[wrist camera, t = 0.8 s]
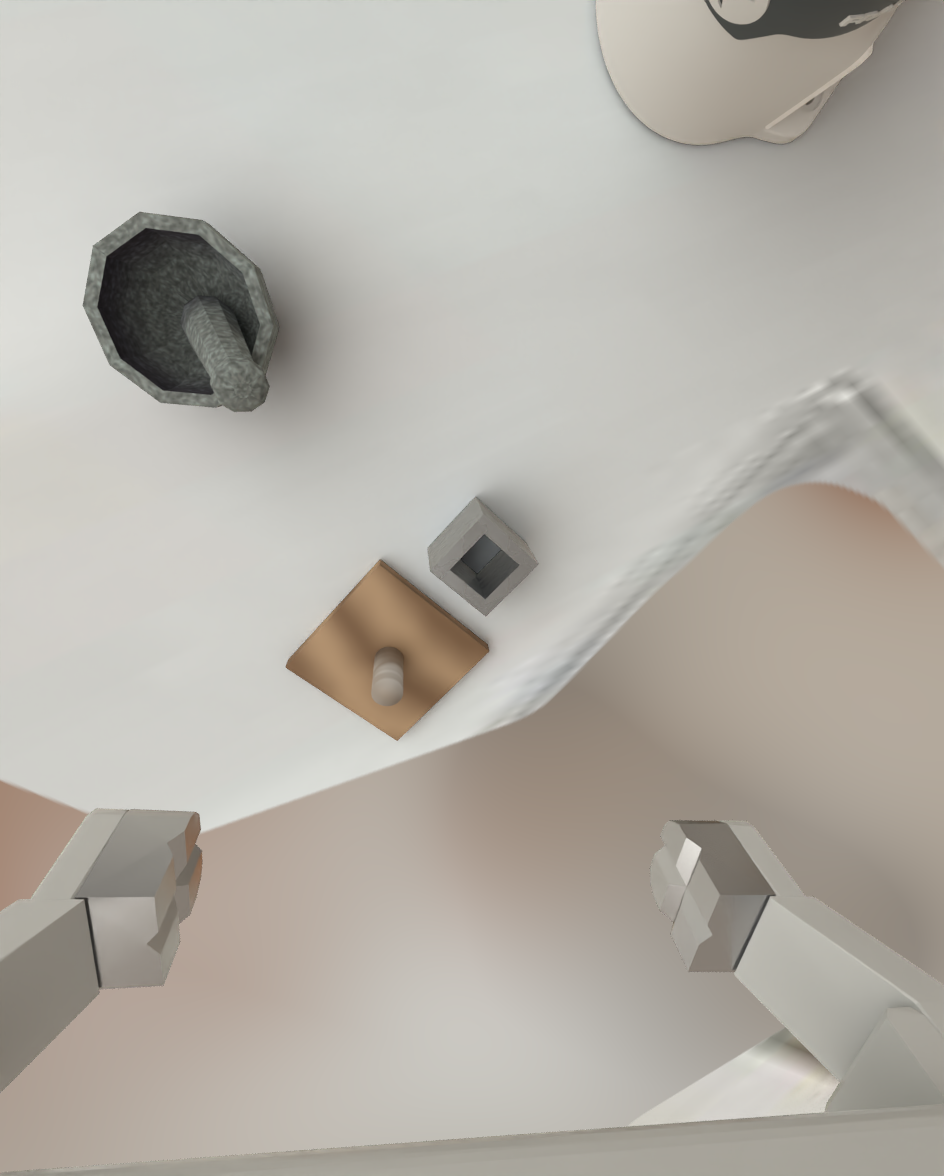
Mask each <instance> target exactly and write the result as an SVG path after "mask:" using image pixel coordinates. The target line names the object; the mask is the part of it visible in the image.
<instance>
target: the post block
mask: <svg viewBox="0 0 944 1176" xmlns="http://www.w3.org/2000/svg"><path fill="white" fill-rule="evenodd" d="M488 652H489V648H488V644H486V643H485V642H484V641H483V640H481V639H480V638H479V637H478V636H476V635H475V634H474V633H473V632H471V631H470V630H469V629H467V628H466V627H465V626H464V625H462V624H461V623H460V622H459V621H457V620H456V619H455V618H454V617H452V616H451V615H450V614H448V613H447V612H446V611H445V610H443V609H442V608H441V607H440V606H438V605H437V604H436V603H435V602H433V601H432V600H431V599H430V598H428V597H427V596H426V595H424V594H423V593H422V592H421V591H419V590H418V589H417V588H416V587H414V586H413V585H412V584H411V583H409V582H408V581H407V580H406V579H404V578H403V577H402V576H400V575H399V574H398V573H397V572H395V571H394V570H393V569H392V568H390V567H389V566H388V565H387V564H385V563H384V562H383V561H381V560H379V561H378V562H377V563H376V564H375V566H374V567H373V568H372V569H371V570H370V571H369V572H368V573H367V574H366V575H365V576H364V578H363V579H362V580H361V581H360V582H359V583H358V584H357V585H356V586H355V587H354V588H353V590H352V591H351V592H350V593H349V594H348V595H347V596H346V597H345V598H344V599H343V601H342V602H341V603H340V604H339V605H338V606H337V607H336V608H335V609H334V610H333V611H332V613H331V614H330V615H329V616H328V617H327V618H326V619H325V620H324V621H323V622H322V623H321V625H320V626H319V627H318V628H317V629H316V630H315V631H314V632H313V633H312V634H311V635H310V637H309V638H308V639H307V640H306V641H305V642H304V643H303V644H302V645H301V646H300V648H299V649H298V650H297V651H296V652H295V653H294V654H293V655H292V656H291V657H290V658H289V660H288V662H287V664H286V668H287V669H289V670H290V671H292V672H293V673H295V674H296V675H298V676H299V677H301V678H302V679H304V680H305V681H307V682H308V683H310V684H311V685H313V686H314V687H316V688H318V689H319V690H321V691H322V692H324V693H325V694H327V695H328V696H330V697H331V698H333V699H334V700H336V701H337V702H339V703H340V704H342V705H343V706H345V707H346V708H348V709H350V710H351V711H353V712H354V713H356V714H357V715H359V716H360V717H362V718H363V719H365V720H366V721H368V722H369V723H371V724H372V725H374V726H375V727H377V728H378V729H380V730H381V731H383V732H385V733H386V734H388V735H389V736H391V737H392V738H394V739H395V740H397V741H398V740H399V739H400V738H401V737H402V736H403V735H404V734H405V733H406V732H407V731H408V730H409V729H410V728H411V727H412V726H413V725H414V724H415V723H416V722H417V721H418V720H419V719H420V718H421V717H422V716H423V715H424V714H425V713H426V712H427V711H428V710H429V709H430V708H431V707H432V706H433V705H435V704H436V703H437V702H438V701H439V700H440V699H441V698H442V697H443V696H444V695H445V694H446V693H447V692H448V691H449V690H450V689H451V688H452V687H453V686H454V685H455V684H456V683H457V682H458V681H459V680H460V679H461V678H462V677H463V676H464V675H465V674H466V673H467V672H468V671H469V670H471V669H472V668H473V667H474V666H475V665H476V664H477V663H478V662H479V661H480V660H481V659H482V658H483V657H484V656H485V655H486V654H487V653H488Z"/></svg>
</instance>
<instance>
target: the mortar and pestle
mask: <svg viewBox="0 0 944 1176" xmlns="http://www.w3.org/2000/svg"><path fill="white" fill-rule="evenodd" d="M83 307H84V309H85V311H86V314H87V316H88V318H89V320H90V322H91V325H92V327H93V329H94V331H95V334H96V336H97V338H98V340H99V342H100V345H101V347H102V349H103V351H104V353H105V356H106V358H107V360H108V362H109V364H110V366H112V367H113V368H114V369H116V370H117V371H118V372H120V373H121V374H123V375H124V376H125V377H127V378H128V379H129V380H131V381H132V382H133V383H135V384H136V385H137V386H139V387H140V388H141V389H143V390H144V391H145V392H147V393H148V394H149V395H151V396H152V397H154V398H155V399H156V400H158V401H159V402H160V403H170V404H182V405H193V406H204V407H219V406H222V405H224V406H225V407H227V408H229V409H230V410H232V411H234V412H246V411H253V410H254V409H256V408H257V407H258V406H260V405H261V404H263V403H264V402H265V400H266V396H267V393H268V390H269V384H268V382H267V379H266V376H265V374H266V371H267V368H268V364H269V361H270V357H271V354H272V350H273V347H274V344H275V340H276V337H277V333H278V330H279V325H278V322H277V319H276V315H275V312H274V309H273V306H272V303H271V300H270V297H269V294H268V291H267V288H266V285H265V282H264V279H263V276H262V273H261V271H260V269H259V268H258V267H257V266H256V265H255V264H254V263H253V262H251V261H250V260H249V259H248V258H247V257H246V256H245V255H244V254H242V253H241V252H240V251H239V250H238V249H237V248H236V247H235V246H233V245H232V244H231V243H230V242H229V241H228V240H227V239H226V238H224V237H223V236H222V235H221V234H220V233H219V232H218V231H216V230H215V229H214V228H213V227H212V226H211V225H209V224H208V223H206V222H205V221H203V220H198V219H190V218H182V217H175V216H167V215H160V214H152V213H144V212H139V213H137V214H136V215H135V216H133V217H132V218H130V219H129V220H128V221H126V222H125V223H124V224H122V225H121V226H119V227H118V228H117V229H115V230H114V231H113V232H111V233H110V234H108V235H107V236H106V237H104V238H103V239H102V240H100V241H99V242H97V243H96V244H95V245H93V249H92V255H91V261H90V267H89V273H88V278H87V284H86V290H85V296H84V301H83Z"/></svg>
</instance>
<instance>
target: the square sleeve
mask: <svg viewBox="0 0 944 1176" xmlns="http://www.w3.org/2000/svg"><path fill="white" fill-rule="evenodd" d="M484 534H485V535H486V536H487V537H488V538H489V539H490V540H492V541H493V542H494V543H495V544H496V545H497V546H498V547H499V548H501V549H502V550H501V551H500V552H499V553H498V554H497V555H496V556H495V557H494V558H493V559H492V560H491V561H490V562H489V563H488V564H487V565H486V566H485V567H484V568H483V569H482V570H481V571H480V572H479V573H478V574H477V573H476V572H474V571H473V570H472V569H471V568H470V567H468V566H467V565H466V564H465V563H464V562H463V561H461V560H460V559H461V558H462V557H463V556H464V554H465V553H466V552H467V551H468V550H469V549H470V548H471V547H472V546H473V545H474V544H475V543H476V542H477V541H478V540H479V539H480V538H481V537H482V536H483V535H484ZM428 557H429V566H430V572H432V573H433V574H434V575H435V576H437V577H438V578H439V579H440V580H442V581H443V582H444V583H445V584H446V585H448V586H449V587H450V588H451V589H453V590H454V591H455V592H456V593H458V594H459V595H460V596H461V597H462V598H464V599H465V600H466V601H467V602H469V603H470V604H471V605H472V606H473V607H475V608H476V609H477V610H478V611H480V612H481V613H482V614H483V615H485V616H487V615H488V614H489V613H490V612H491V611H492V610H493V609H494V608H495V607H496V606H497V605H498V604H499V603H500V602H501V601H502V600H503V599H504V598H505V597H506V596H507V595H508V594H509V593H510V592H511V591H512V590H513V589H514V588H515V587H516V586H517V585H518V584H519V583H520V582H521V581H522V580H523V579H524V578H525V577H526V576H527V575H528V574H529V573H530V572H531V571H532V570H533V569H534V568H535V567H536V566H537V565H538V562H537V560H536V559H535V557H534V555H533V554H532V552H531V550H530V549H529V547H528V545H527V544H526V542H525V541H524V540H523V539H522V538H521V537H519V536H518V535H517V534H516V533H515V532H514V531H513V530H512V529H511V528H509V527H508V526H507V525H506V524H505V523H504V522H503V521H502V520H501V519H500V518H498V517H497V516H496V515H495V514H494V513H493V512H492V511H491V510H490V509H489V508H487V507H486V506H485V505H484V504H483V503H482V502H481V501H480V500H479V499H478V498H476V497H475V498H474V499H473V500H472V501H471V502H470V503H469V504H468V505H467V506H466V507H465V508H464V510H463V511H462V512H461V513H460V514H459V515H458V516H457V517H456V518H455V519H454V520H453V521H452V522H451V523H450V524H449V526H448V527H447V528H446V529H445V530H444V531H443V532H442V533H441V534H440V535H439V536H438V537H437V538H436V539H435V541H434V542H433V543H432V544H431V545H430V546H429V547H428Z"/></svg>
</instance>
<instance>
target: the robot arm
mask: <svg viewBox="0 0 944 1176" xmlns="http://www.w3.org/2000/svg"><path fill="white" fill-rule="evenodd" d="M904 1H906V0H596V18H597V28H598V35H599V40H600V46H601V50H602V54H603V57H604V60H605V64H606V67H607V69H608V72H609V74H610V77H611V79H612V81H613V83H614V86H615V87H616V89H617V91H618V93H619V95H620V96H621V98H622V99H623V101H624V102H625V104H626V105H627V106H628V108H629V109H630V110H631V111H632V112H633V114H634V115H635V116H636V117H637V118H638V119H639V120H640V121H641V122H642V123H644V124H645V125H646V126H647V127H649V128H650V129H651V130H653V131H654V132H656V133H658V134H660V135H661V136H663V137H666V138H668V139H670V140H673V141H676V142H680V143H684V144H692V145H708V144H715V143H720V142H724V141H728V140H732V139H736V138H741V137H754V138H757V139H760V140H764V141H767V142H772V143H777V144H786V143H789V142H792V141H793V140H795V139H796V138H797V137H799V136H800V135H802V134H803V133H804V132H805V131H806V130H807V129H808V128H809V126H810V125H811V123H812V122H813V121H814V119H815V118H816V116H817V115H818V113H819V112H820V110H821V109H822V107H823V106H824V104H825V103H826V101H827V100H828V98H829V97H830V96H831V94H832V93H833V91H834V90H835V88H836V87H837V85H838V84H839V82H840V81H841V79H842V78H843V77H844V76H846V75H847V74H848V73H850V72H851V71H853V70H854V69H855V68H857V67H858V66H859V65H861V64H862V63H863V62H864V61H865V60H866V59H867V58H868V57H869V56H870V55H871V54H872V52H873V42H874V41H875V40H876V39H877V37H878V36H879V35H880V33H881V32H882V31H883V29H884V28H885V27H886V25H887V23H888V22H889V20H890V19H891V17H892V16H893V14H894V13H895V11H896V9H897V8H898V6H899V5H900V4H902V3H903V2H904ZM805 104H806V105H805ZM200 830H201V827H200V817H199V814H198V813H197V812H187V811H164V810H140V809H130V810H123V809H102V808H96V809H95V810H94V811H92V812H91V813H90V814H88V815H87V816H86V818H85V819H84V820H83V822H82V823H81V825H80V826H79V828H78V829H77V831H76V832H75V834H74V835H73V837H72V838H71V840H70V841H69V843H68V844H67V846H66V847H65V849H64V850H63V851H62V853H61V854H60V856H59V857H58V859H57V860H56V862H55V863H54V865H53V866H52V868H51V869H50V871H49V872H48V874H47V875H46V876H45V878H44V880H43V881H42V883H41V884H40V886H39V887H38V888H37V890H36V891H35V893H34V894H33V896H32V897H31V899H27V900H26V899H25V900H17V901H16V902H14V903H13V904H11V905H10V906H8V907H7V908H5V909H3V910H2V911H0V1093H1V1092H2V1091H3V1090H4V1089H5V1088H6V1087H7V1086H8V1085H9V1084H10V1083H11V1082H12V1081H13V1080H14V1079H15V1078H16V1077H17V1076H18V1075H19V1074H20V1073H21V1072H22V1071H23V1070H24V1069H25V1068H26V1067H27V1066H28V1065H29V1064H30V1063H31V1062H32V1061H33V1060H34V1059H35V1058H36V1057H37V1056H38V1055H39V1054H40V1053H41V1052H42V1051H43V1050H44V1049H45V1048H46V1047H47V1046H48V1045H49V1044H50V1043H51V1042H52V1041H53V1040H54V1039H55V1038H56V1036H58V1035H59V1034H60V1033H61V1032H62V1031H63V1030H64V1029H65V1028H66V1026H68V1025H69V1024H70V1022H72V1020H74V1019H75V1018H76V1017H77V1015H78V1014H80V1013H81V1012H82V1011H83V1010H84V1009H85V1008H86V1007H87V1006H88V1004H89V1003H90V1002H91V1001H92V1000H93V999H94V998H95V997H96V996H97V995H98V994H99V989H115V988H132V987H150V986H164V983H165V980H166V978H167V975H168V972H169V970H170V967H171V964H172V962H173V959H174V956H175V954H176V951H177V949H178V946H179V943H180V932H179V924H180V923H181V922H182V921H183V920H184V919H185V918H187V917H188V916H189V915H190V914H191V911H192V908H193V905H194V903H195V900H196V897H197V893H198V888H199V884H200V880H201V872H202V850H201V849H200V848H199V847H198V846H197V845H196V844H195V843H196V840H197V838H198V835H199V833H200ZM660 837H661V839H662V840H663V842H664V844H665V846H664V847H663V848H661V849H660V850H659V851H658V852H656V853H655V854H654V856H653V860H652V863H651V867H650V885H651V888H652V893H653V897H654V899H655V901H656V904H657V906H658V908H659V910H660V911H661V912H662V913H663V914H664V915H666V916H667V917H668V918H669V919H670V920H671V921H672V922H673V925H672V929H671V936H672V939H673V941H674V943H675V945H676V947H677V949H678V952H679V954H680V956H681V958H682V960H683V962H684V964H685V966H686V969H687V971H688V972H735V973H734V975H735V976H736V977H737V978H738V979H739V980H740V981H741V982H742V983H743V984H744V985H745V986H746V987H747V988H748V989H749V991H750V992H751V993H752V994H754V996H756V997H757V999H758V1000H759V1001H760V1002H761V1003H762V1004H763V1005H764V1006H765V1007H767V1009H768V1010H769V1011H770V1012H771V1013H772V1014H773V1015H774V1016H775V1017H776V1018H777V1019H778V1020H779V1021H780V1022H781V1023H782V1024H783V1025H784V1026H785V1027H786V1028H787V1029H788V1030H789V1031H790V1032H791V1033H792V1034H793V1035H794V1036H795V1037H796V1038H797V1039H798V1040H799V1041H800V1042H801V1043H802V1044H803V1045H804V1046H805V1047H806V1048H807V1049H808V1050H809V1051H810V1052H811V1053H812V1054H813V1055H814V1056H815V1057H816V1058H817V1059H818V1060H819V1061H820V1062H821V1064H822V1065H823V1066H824V1067H825V1068H826V1069H827V1070H828V1071H829V1072H830V1073H831V1074H832V1075H833V1076H834V1077H835V1078H836V1079H837V1080H838V1081H839V1082H840V1083H839V1084H838V1086H837V1088H836V1089H835V1091H834V1092H833V1094H832V1096H831V1097H830V1099H829V1100H828V1102H827V1104H826V1109H825V1112H824V1113H811V1114H797V1115H783V1116H770V1117H756V1118H742V1119H728V1120H714V1121H700V1122H686V1123H672V1124H658V1125H644V1126H630V1127H617V1128H602V1129H590V1130H589V1129H588V1130H574V1131H560V1132H546V1133H533V1134H518V1135H505V1136H491V1137H477V1138H464V1139H451V1140H436V1141H423V1142H410V1143H395V1144H383V1145H368V1146H354V1147H341V1148H327V1149H314V1150H299V1151H286V1152H272V1153H258V1154H244V1155H231V1156H217V1157H203V1158H189V1159H176V1160H162V1161H150V1162H149V1161H148V1162H135V1163H120V1164H107V1165H95V1166H94V1165H93V1166H79V1167H65V1168H52V1169H38V1170H25V1171H11V1172H0V1176H944V985H943V984H942V983H940V982H939V981H937V980H936V979H935V978H933V977H932V976H930V975H929V974H927V973H926V972H924V971H923V970H921V969H920V968H918V967H917V966H915V965H914V964H912V963H911V962H910V961H908V960H907V959H905V958H904V957H902V956H901V955H899V954H898V953H896V952H895V951H893V950H892V949H890V948H889V947H887V946H886V945H885V944H883V943H882V942H880V941H879V940H877V939H876V938H874V937H873V936H871V935H870V934H868V933H867V932H865V931H864V930H862V929H861V928H859V927H858V926H856V925H855V924H854V923H852V922H851V921H849V920H848V919H846V918H845V917H843V916H842V915H840V914H839V913H837V912H836V911H834V910H833V909H831V908H830V907H829V906H827V905H826V904H824V903H823V902H821V901H820V900H818V899H817V898H815V897H814V896H805V895H804V894H803V892H802V891H801V889H800V888H799V887H798V885H797V884H796V883H795V881H794V880H793V878H792V877H791V876H790V874H789V873H788V872H787V870H786V869H785V868H784V866H783V865H782V864H781V863H780V861H779V860H778V858H777V857H776V856H775V854H774V853H773V852H772V850H771V849H770V848H769V846H768V845H767V843H766V842H765V841H764V839H763V838H762V837H761V835H760V834H759V833H758V832H757V830H756V829H755V827H754V826H753V825H751V824H750V823H748V822H747V821H692V820H690V821H689V820H684V821H683V820H670V821H669V822H668V823H666V824H665V826H664V828H663V830H662V833H661V836H660Z"/></svg>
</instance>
